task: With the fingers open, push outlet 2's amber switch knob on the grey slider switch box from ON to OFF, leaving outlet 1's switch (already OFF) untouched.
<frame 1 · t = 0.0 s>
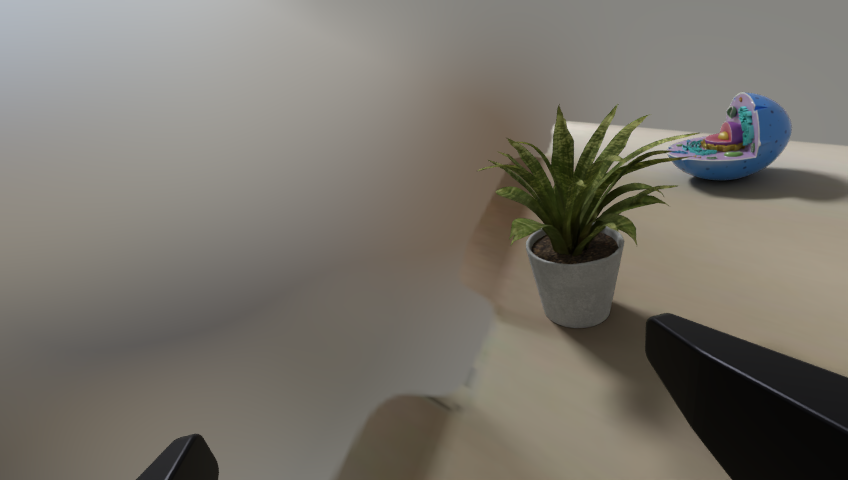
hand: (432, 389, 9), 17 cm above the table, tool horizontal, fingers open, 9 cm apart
house plant: (574, 320, 35), on the table
cell model: (721, 179, 53), on the table
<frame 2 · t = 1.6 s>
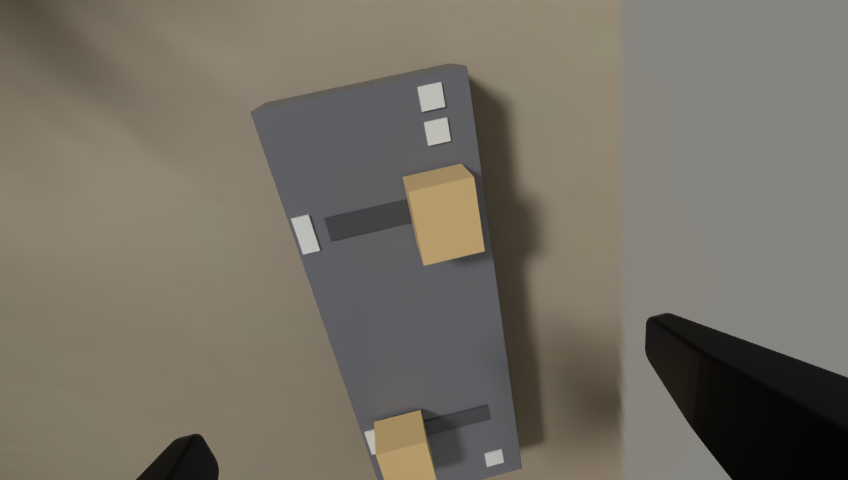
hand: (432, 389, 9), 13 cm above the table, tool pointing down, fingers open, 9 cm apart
grey slider switch box: (410, 298, 23), on the table
outlet 2 switch: (443, 213, 17), point 4 cm above the table, slide at 0.0 cm
outlet 1 switch: (405, 452, 22), point 4 cm above the table, slide at 4.0 cm
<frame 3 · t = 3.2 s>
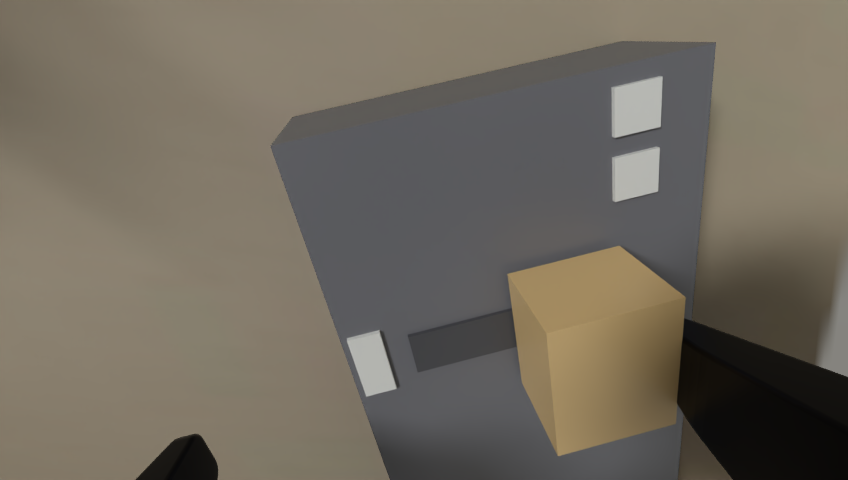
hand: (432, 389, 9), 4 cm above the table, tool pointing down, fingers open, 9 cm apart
grey slider switch box: (511, 411, 15), on the table
outlet 2 switch: (589, 347, 9), point 4 cm above the table, slide at 1.1 cm, touching gripper
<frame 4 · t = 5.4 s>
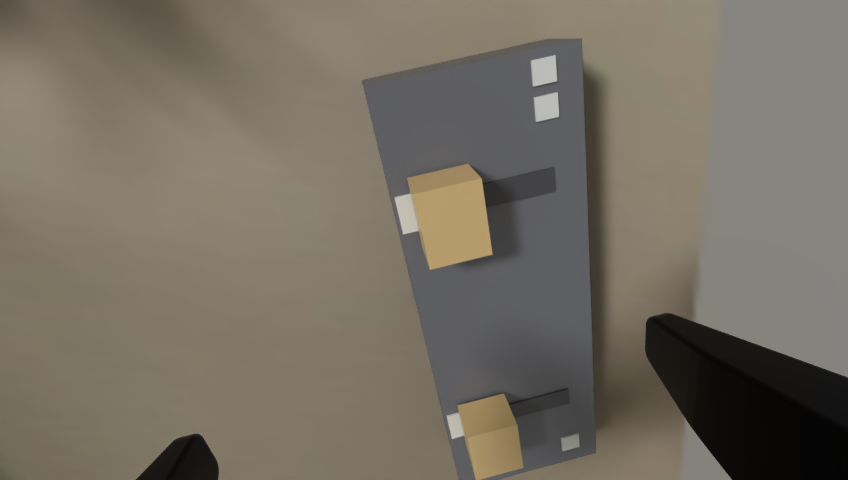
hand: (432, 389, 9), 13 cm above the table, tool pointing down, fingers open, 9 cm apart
grey slider switch box: (489, 282, 23), on the table
outlet 2 switch: (449, 215, 17), point 4 cm above the table, slide at 4.0 cm
outlet 1 switch: (490, 436, 22), point 4 cm above the table, slide at 4.0 cm
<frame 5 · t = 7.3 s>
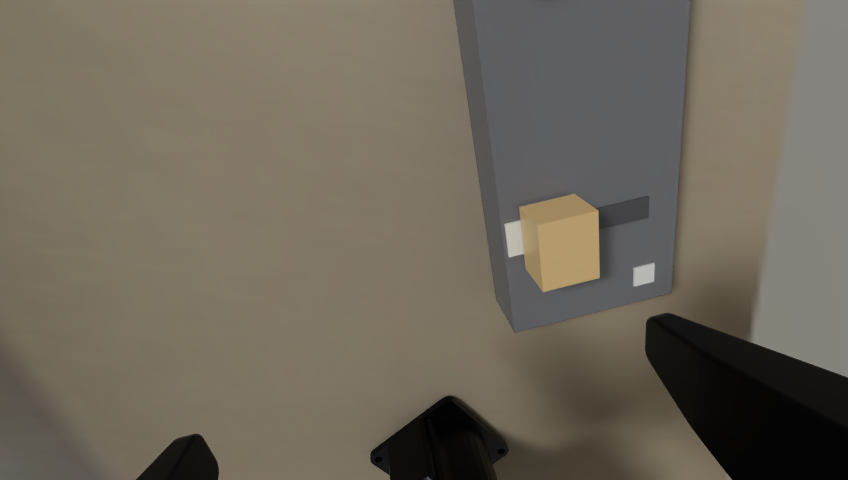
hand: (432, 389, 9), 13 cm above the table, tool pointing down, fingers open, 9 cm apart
grey slider switch box: (554, 71, 19), on the table
outlet 1 switch: (559, 242, 18), point 4 cm above the table, slide at 4.0 cm
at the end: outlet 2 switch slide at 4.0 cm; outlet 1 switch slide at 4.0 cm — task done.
